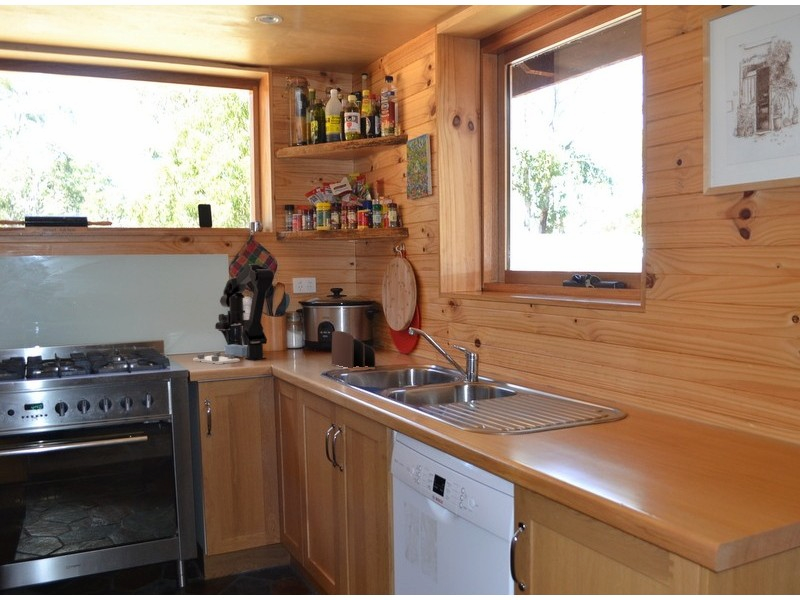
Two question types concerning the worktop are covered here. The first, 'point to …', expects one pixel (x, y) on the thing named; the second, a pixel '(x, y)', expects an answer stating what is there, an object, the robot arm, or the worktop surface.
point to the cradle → (216, 358)
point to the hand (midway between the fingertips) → (237, 344)
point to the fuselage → (236, 350)
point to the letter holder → (351, 351)
